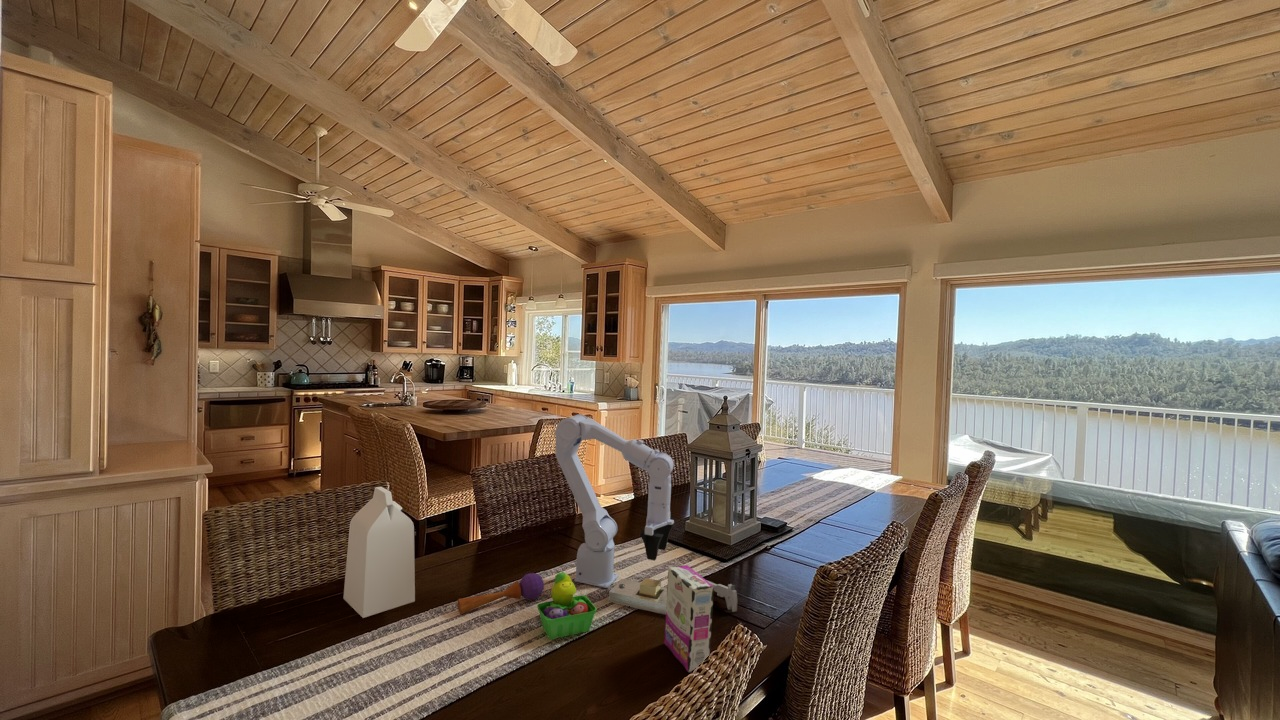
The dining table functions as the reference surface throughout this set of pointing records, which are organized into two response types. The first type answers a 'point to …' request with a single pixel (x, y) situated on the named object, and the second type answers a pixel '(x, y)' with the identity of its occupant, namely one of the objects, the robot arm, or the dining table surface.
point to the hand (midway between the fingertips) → (656, 554)
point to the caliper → (727, 594)
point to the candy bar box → (688, 616)
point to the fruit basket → (565, 610)
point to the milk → (380, 557)
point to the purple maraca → (506, 593)
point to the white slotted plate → (637, 597)
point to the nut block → (650, 588)
